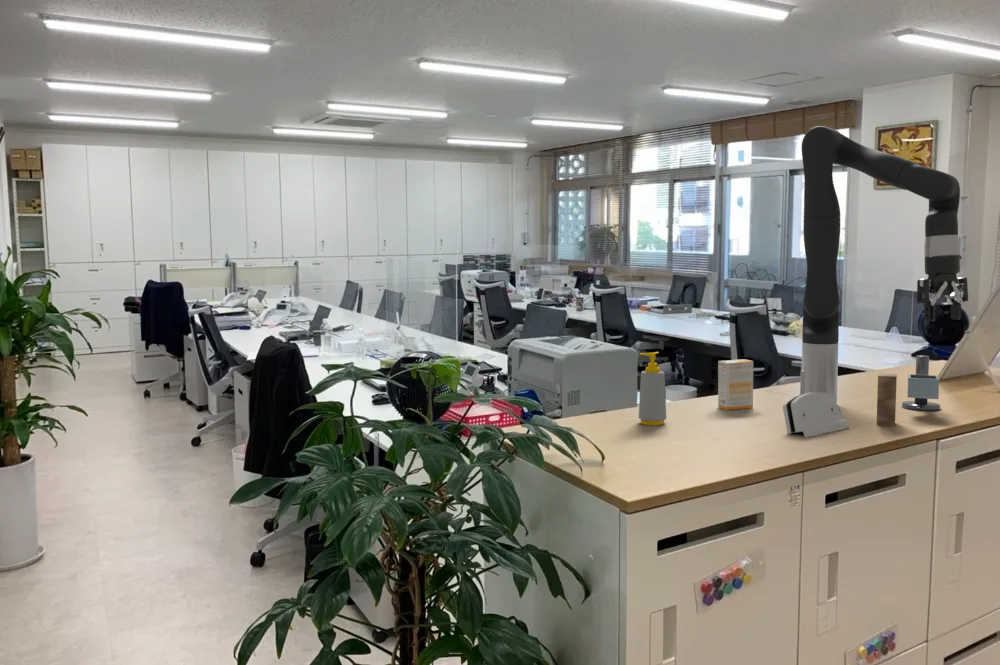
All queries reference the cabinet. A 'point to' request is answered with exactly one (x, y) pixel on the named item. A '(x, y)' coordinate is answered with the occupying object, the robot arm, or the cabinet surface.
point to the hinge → (813, 414)
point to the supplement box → (735, 384)
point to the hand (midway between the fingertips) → (943, 320)
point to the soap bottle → (652, 394)
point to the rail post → (886, 399)
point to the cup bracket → (922, 387)
